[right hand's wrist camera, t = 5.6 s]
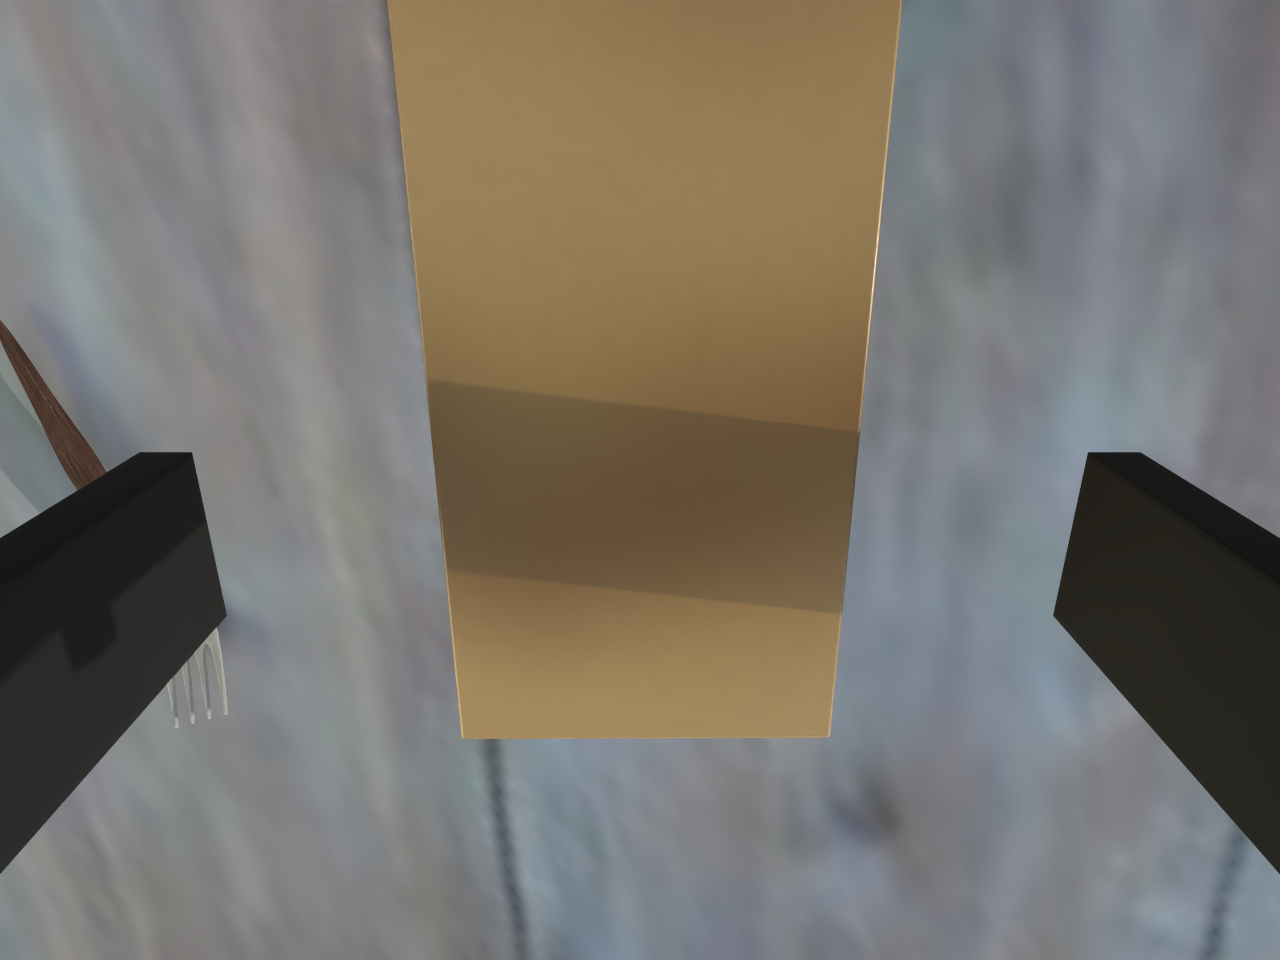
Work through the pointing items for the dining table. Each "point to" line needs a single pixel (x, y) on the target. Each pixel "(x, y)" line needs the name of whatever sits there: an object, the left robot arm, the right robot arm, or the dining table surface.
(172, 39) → the dining table surface
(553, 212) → the box
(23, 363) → the fork
